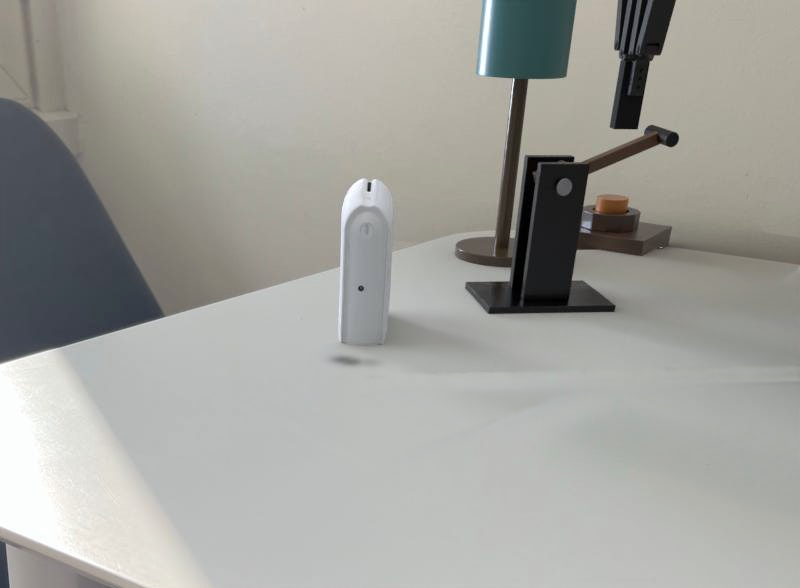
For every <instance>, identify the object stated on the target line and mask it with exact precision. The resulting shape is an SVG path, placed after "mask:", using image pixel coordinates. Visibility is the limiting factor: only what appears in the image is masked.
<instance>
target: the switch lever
mask: <svg viewBox="0 0 800 588" xmlns="http://www.w3.org/2000/svg"><path fill="white" fill-rule="evenodd" d="M679 141H680V135H679V133H677V132H676V131H673V130H670V129H667V128H663V127H661V126H657V125H655V124H650V125H647V126H646V127H645V129H644V132H643V135H642V136H639V137H636V138H634V139H632V140H630V141H627V142H625V143H622V144H620V145H618V146H615V147H613V148H611V149H608V150H606V151H604V152H601V153H599V154H597V155H594V156H592V157H590V158H587V159H584V160H582V161H581V162H586V163H589V164H590V167H589V173H588V175H591V174H593V173H595V172H598V171H600V170H602V169H604V168H607V167H609V166H612V165H614V164H616V163H619V162H622V161H624V160H626V159H629V158H631V157H633V156H635V155H637V154H640V153H642V152H645V151H647V150H650V149H652V148H654V147H658V146H659V145H662V146H665V147H667V148H674V147H676V146H677V145H678V143H679ZM558 162H565V161H563V160H560V161H558ZM536 175H537V170H536V171H534V172H533V177H534V181H535V183H536Z"/></svg>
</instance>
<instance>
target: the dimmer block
mask: <svg viewBox="0 0 800 588" xmlns="http://www.w3.org/2000/svg"><path fill="white" fill-rule="evenodd" d="M595 206H596V204H588V205H585V206H583V212H582V218H581V225H580V231H579V238H578V244H577V251H593V250H594V251H598V250H599V251H605V252H611V253H618V254H623V255H630V256H637V257H642V256H644V255H646V254H648V253H650V252H651V251H653V250H663V249H665V248H666V247H668V246H669V245H670V240H671V235H672V230H673V226H672V225H666V224H657V223H652V222H651V223H650V222H645V221H644V222H642V221H640V218H641V214H642V212H641V210H639V209H637V208H634V207H630V206H628V208H627V213H621V214H613V213H602V212H597V211H595ZM660 247H663V248H661V249H659V248H660Z"/></svg>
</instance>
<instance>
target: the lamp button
mask: <svg viewBox="0 0 800 588" xmlns="http://www.w3.org/2000/svg"><path fill="white" fill-rule="evenodd" d="M629 202H630V197H628V196H625V195H620V194H609V193H608V194H607V193H606V194H598V195H597V196H596V200H595V205H596V206H595V211H597V212H602V213H613V214H621V213H627V208H628V207H629Z"/></svg>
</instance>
